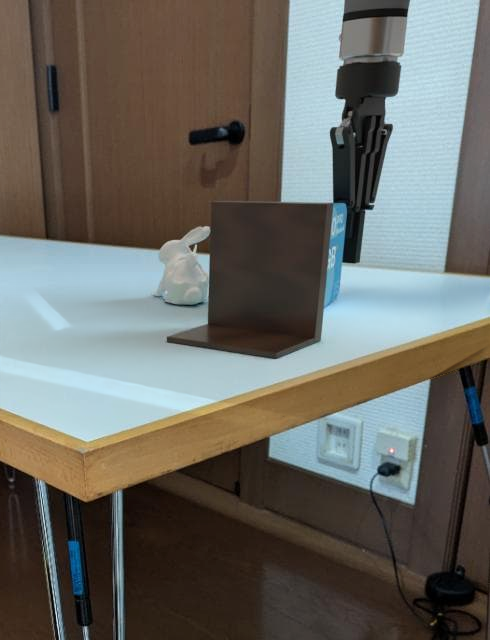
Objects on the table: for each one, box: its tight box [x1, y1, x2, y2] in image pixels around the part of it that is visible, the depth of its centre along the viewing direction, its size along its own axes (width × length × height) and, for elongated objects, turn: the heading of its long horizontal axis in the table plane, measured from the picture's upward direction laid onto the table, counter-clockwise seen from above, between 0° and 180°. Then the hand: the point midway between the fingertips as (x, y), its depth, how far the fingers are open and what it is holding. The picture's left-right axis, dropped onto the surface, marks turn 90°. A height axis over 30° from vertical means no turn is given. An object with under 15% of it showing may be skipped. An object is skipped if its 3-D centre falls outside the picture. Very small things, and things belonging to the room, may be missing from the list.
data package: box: [324, 202, 347, 308], centre depth 102 cm, size 12×4×12 cm, turn 150°
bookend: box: [166, 200, 333, 359], centre depth 86 cm, size 14×10×14 cm
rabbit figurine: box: [150, 225, 211, 306], centre depth 110 cm, size 12×8×10 cm, turn 12°
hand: (348, 262), depth 109 cm, fingers closed
